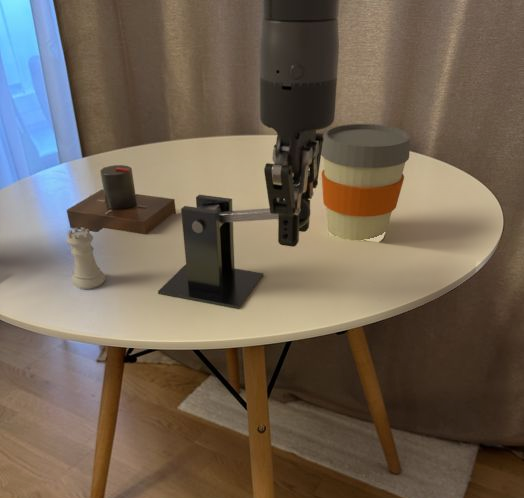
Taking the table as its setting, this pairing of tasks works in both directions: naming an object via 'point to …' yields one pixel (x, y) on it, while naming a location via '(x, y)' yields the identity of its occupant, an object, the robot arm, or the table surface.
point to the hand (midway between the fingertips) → (293, 236)
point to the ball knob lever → (257, 214)
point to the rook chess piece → (84, 260)
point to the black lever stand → (210, 259)
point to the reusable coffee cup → (362, 177)
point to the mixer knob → (118, 187)
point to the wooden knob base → (120, 214)
